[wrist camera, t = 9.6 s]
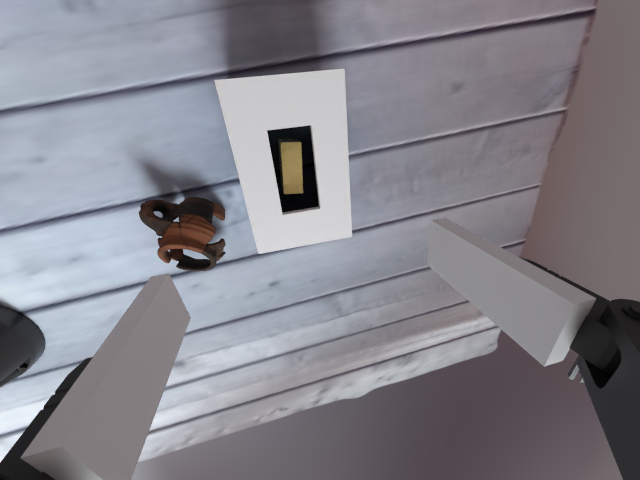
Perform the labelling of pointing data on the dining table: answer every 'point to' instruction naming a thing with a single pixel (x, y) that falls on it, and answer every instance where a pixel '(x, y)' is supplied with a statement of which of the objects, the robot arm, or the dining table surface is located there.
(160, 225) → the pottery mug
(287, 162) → the gold metal bar
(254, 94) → the coin box
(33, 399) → the dining table surface
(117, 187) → the dining table surface
